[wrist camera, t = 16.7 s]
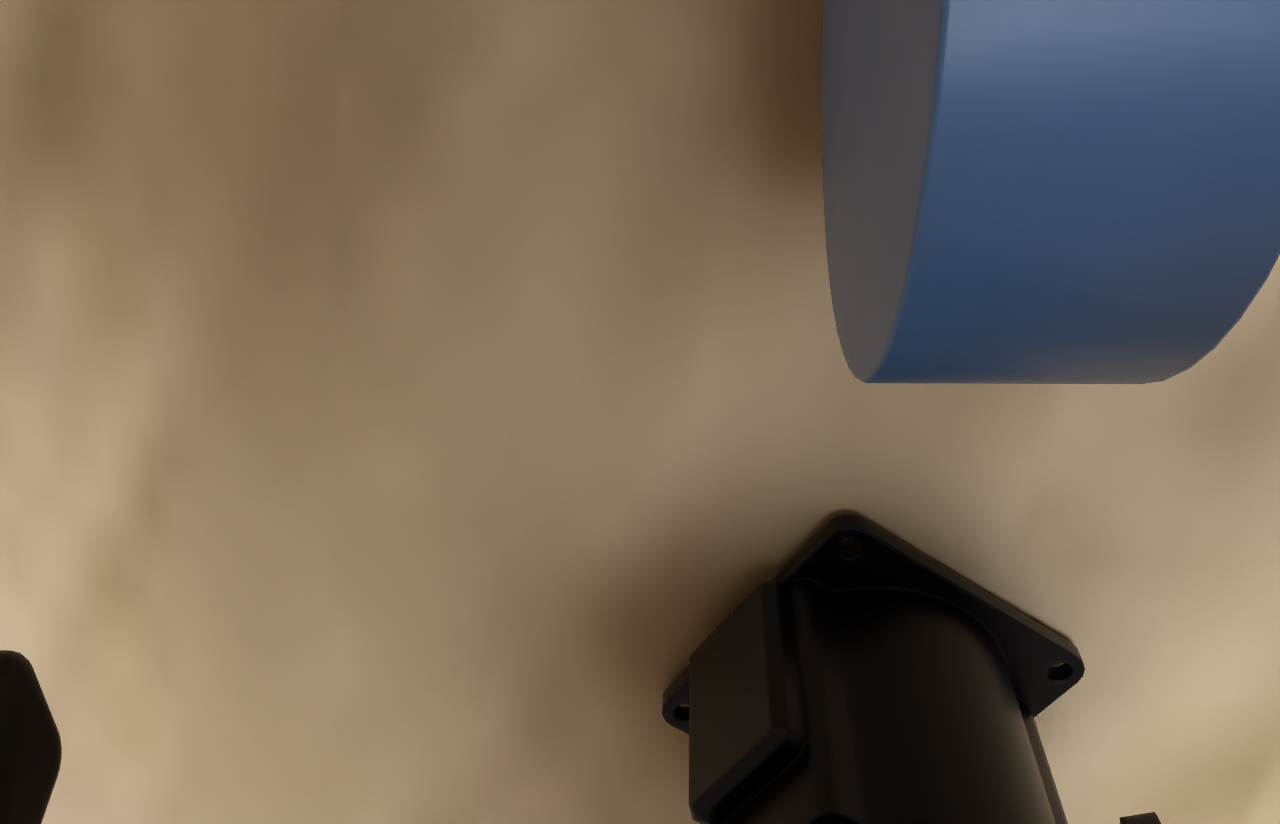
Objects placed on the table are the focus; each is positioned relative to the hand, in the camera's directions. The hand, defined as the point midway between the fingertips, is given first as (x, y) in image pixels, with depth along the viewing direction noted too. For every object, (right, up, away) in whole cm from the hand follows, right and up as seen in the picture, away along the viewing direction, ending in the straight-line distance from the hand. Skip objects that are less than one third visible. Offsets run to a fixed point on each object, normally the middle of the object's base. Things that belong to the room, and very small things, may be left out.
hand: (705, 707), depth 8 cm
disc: (+4, +6, +10) cm, 12 cm away
